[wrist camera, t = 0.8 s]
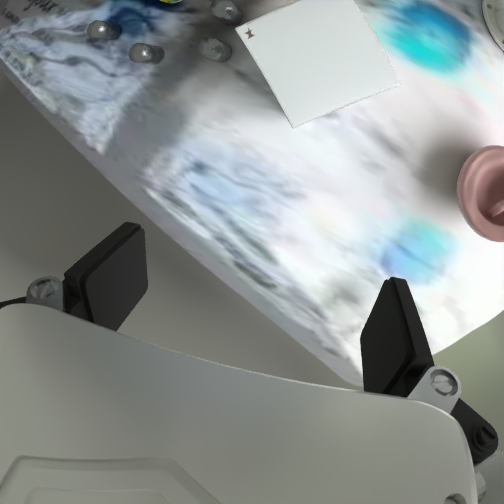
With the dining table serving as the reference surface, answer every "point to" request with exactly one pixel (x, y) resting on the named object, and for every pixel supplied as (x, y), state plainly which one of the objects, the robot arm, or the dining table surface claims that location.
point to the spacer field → (156, 54)
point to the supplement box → (318, 57)
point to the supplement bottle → (170, 1)
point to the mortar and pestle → (483, 192)
